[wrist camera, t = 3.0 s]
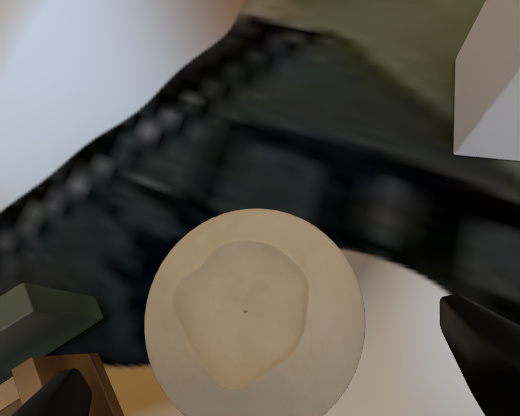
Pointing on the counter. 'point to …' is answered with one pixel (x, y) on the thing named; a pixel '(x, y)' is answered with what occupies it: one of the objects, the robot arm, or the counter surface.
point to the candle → (255, 318)
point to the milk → (489, 85)
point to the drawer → (49, 344)
